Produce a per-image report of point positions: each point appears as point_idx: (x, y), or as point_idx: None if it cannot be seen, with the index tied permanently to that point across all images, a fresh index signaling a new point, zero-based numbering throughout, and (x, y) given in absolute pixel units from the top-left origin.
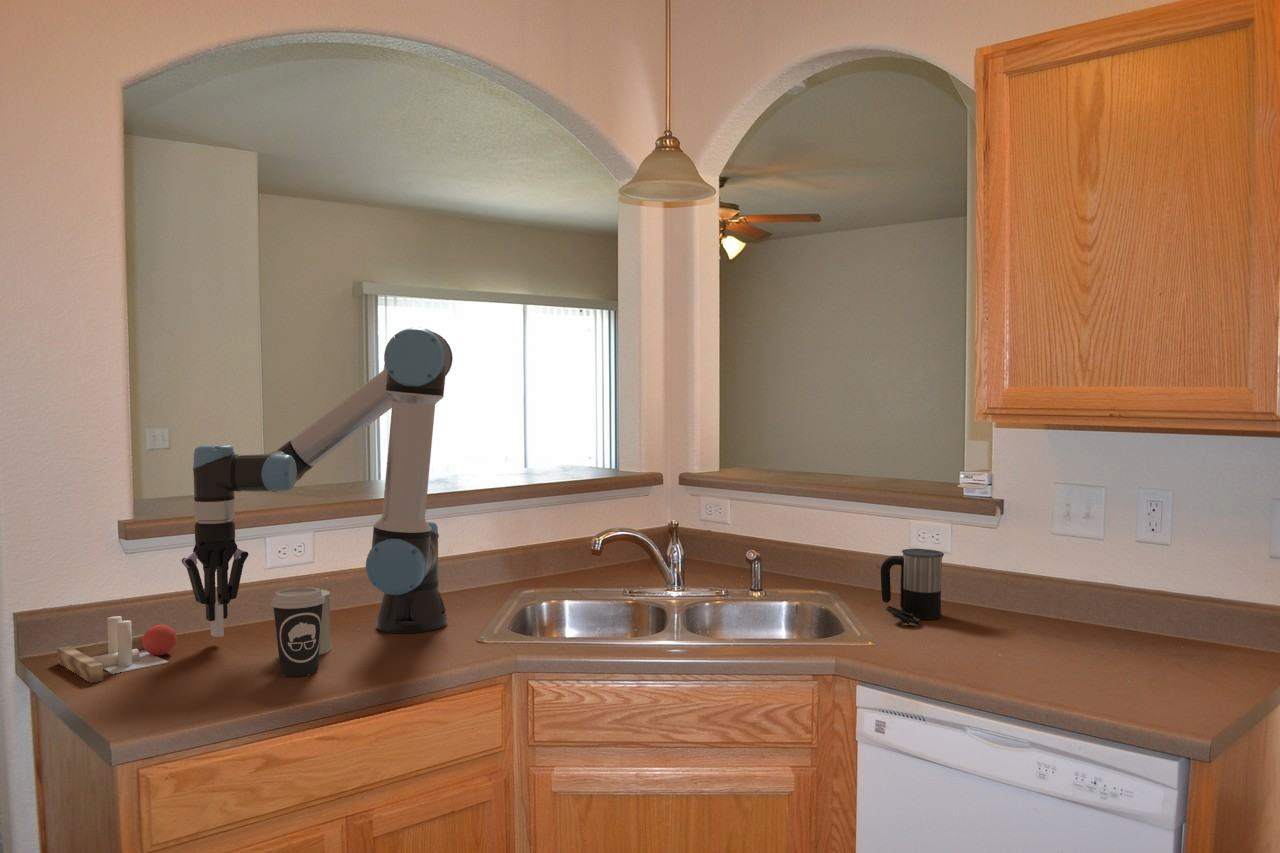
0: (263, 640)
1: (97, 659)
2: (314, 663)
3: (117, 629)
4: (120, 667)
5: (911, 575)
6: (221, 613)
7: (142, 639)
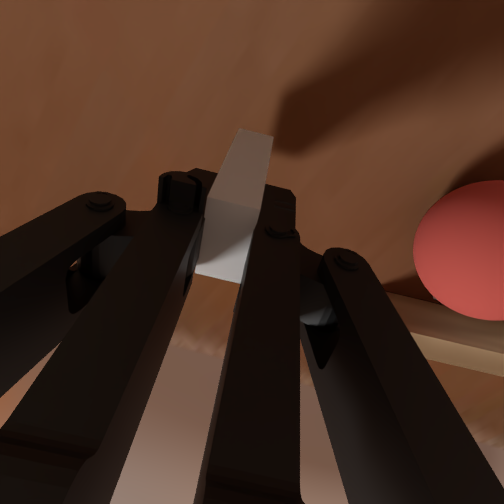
0: (86, 17)
1: None
2: None
3: None
4: None
5: None
6: (229, 175)
7: (444, 331)
